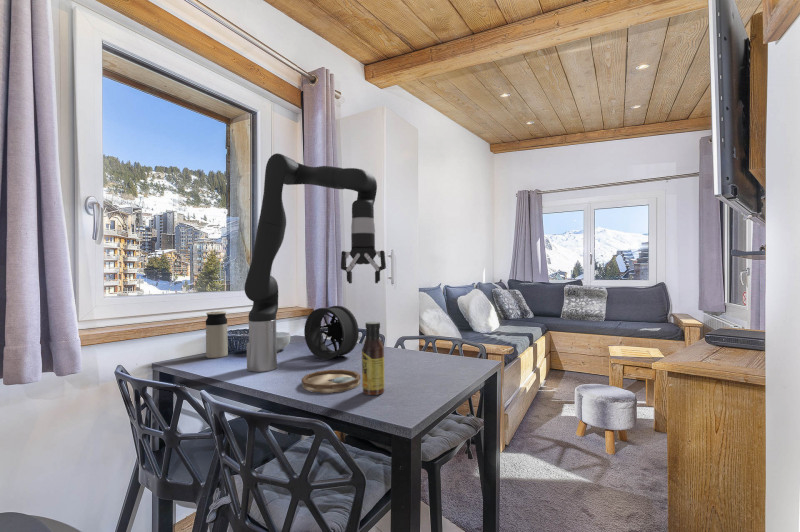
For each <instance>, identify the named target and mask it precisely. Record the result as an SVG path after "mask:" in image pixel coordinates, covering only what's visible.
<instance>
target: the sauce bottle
mask: <svg viewBox="0 0 800 532" xmlns="http://www.w3.org/2000/svg"><path fill="white" fill-rule="evenodd" d="M380 322H381V321H375V320H373V321H367V322H365V332H366V333H365V340H364V344H363V345H362V350H361V374H362V375H361V378H362V380H361V381H362V385H361V386H362V392H363V394H365V395H367V396H378V395H382V394H383V393H384V392H385V384H386V383H385V351H384V350H385V346H384V343H383V341H382V340H381V338H380V336H381V335H380V329H381V323H380Z"/></svg>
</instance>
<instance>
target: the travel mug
mask: <svg viewBox="0 0 800 532" xmlns="http://www.w3.org/2000/svg"><path fill="white" fill-rule="evenodd" d="M226 313H227V311H223V310H217V311H208V312H206V313H205V314H206V317H207V318H206V319H205V353H206V355H205V356H206V358H208V359H219V358H224V357H226V356H228V354H229V353H228V351H229V350H228V347H229V346H228V345H229V342H228V319H227V317H226Z"/></svg>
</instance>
